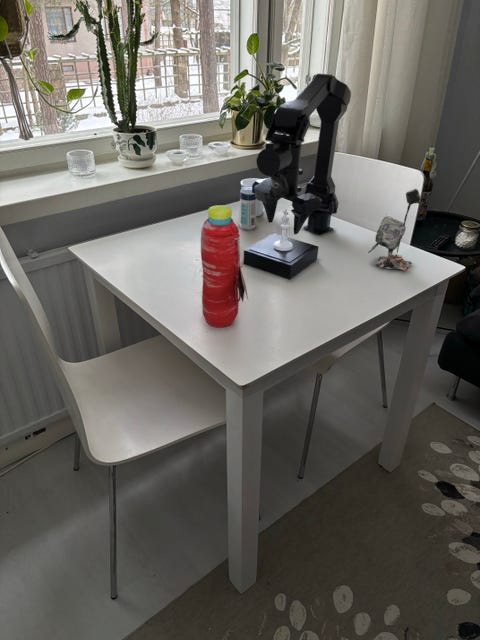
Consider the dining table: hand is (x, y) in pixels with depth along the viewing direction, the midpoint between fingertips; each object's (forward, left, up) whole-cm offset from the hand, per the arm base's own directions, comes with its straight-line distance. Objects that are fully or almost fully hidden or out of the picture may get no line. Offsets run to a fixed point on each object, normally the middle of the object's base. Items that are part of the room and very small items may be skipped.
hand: (282, 228), depth 122 cm
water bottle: (+29, +14, -10) cm, 34 cm away
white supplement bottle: (-8, -23, -10) cm, 26 cm away
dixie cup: (-17, -31, -10) cm, 37 cm away
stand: (0, 0, -10) cm, 10 cm away
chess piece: (-1, 0, -6) cm, 6 cm away
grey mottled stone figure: (-22, +18, -10) cm, 30 cm away
